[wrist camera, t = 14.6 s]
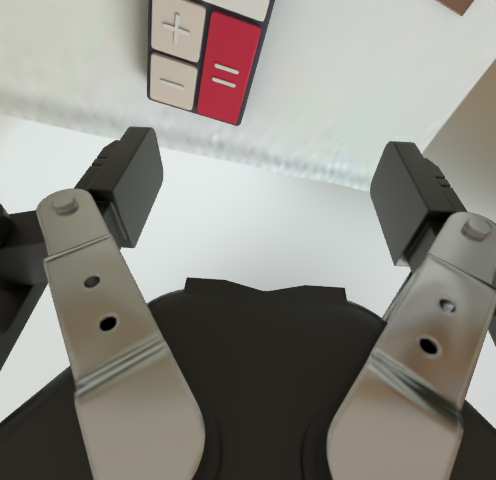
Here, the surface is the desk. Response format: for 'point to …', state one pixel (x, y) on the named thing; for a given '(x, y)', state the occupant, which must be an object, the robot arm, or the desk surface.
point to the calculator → (205, 54)
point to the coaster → (457, 5)
